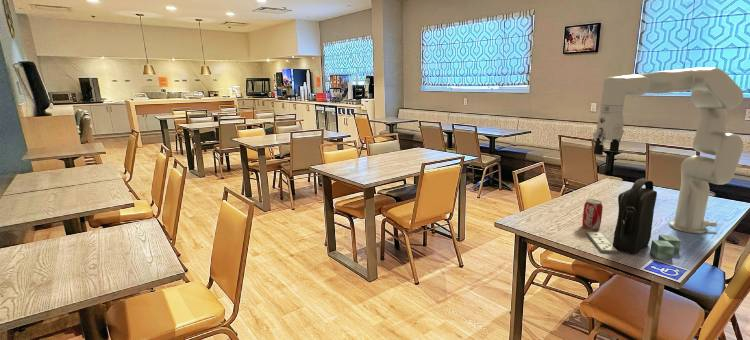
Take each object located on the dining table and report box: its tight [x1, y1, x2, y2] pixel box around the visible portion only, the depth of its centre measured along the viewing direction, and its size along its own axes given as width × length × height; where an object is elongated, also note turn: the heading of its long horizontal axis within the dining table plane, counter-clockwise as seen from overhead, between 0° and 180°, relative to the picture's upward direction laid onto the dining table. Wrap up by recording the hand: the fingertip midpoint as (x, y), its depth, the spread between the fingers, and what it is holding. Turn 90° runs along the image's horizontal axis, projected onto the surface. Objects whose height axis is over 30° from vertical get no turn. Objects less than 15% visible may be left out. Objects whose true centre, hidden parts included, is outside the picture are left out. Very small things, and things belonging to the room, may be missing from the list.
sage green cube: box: [649, 239, 675, 260], centre depth 139 cm, size 5×5×5 cm
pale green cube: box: [657, 234, 682, 254], centre depth 144 cm, size 5×5×5 cm
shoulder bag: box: [612, 177, 658, 256], centre depth 144 cm, size 23×9×28 cm, turn 129°
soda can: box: [581, 199, 604, 230], centre depth 165 cm, size 7×7×12 cm
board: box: [585, 231, 619, 254], centre depth 151 cm, size 6×18×1 cm, turn 168°
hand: (606, 153), depth 150 cm, fingers open, 9 cm apart
